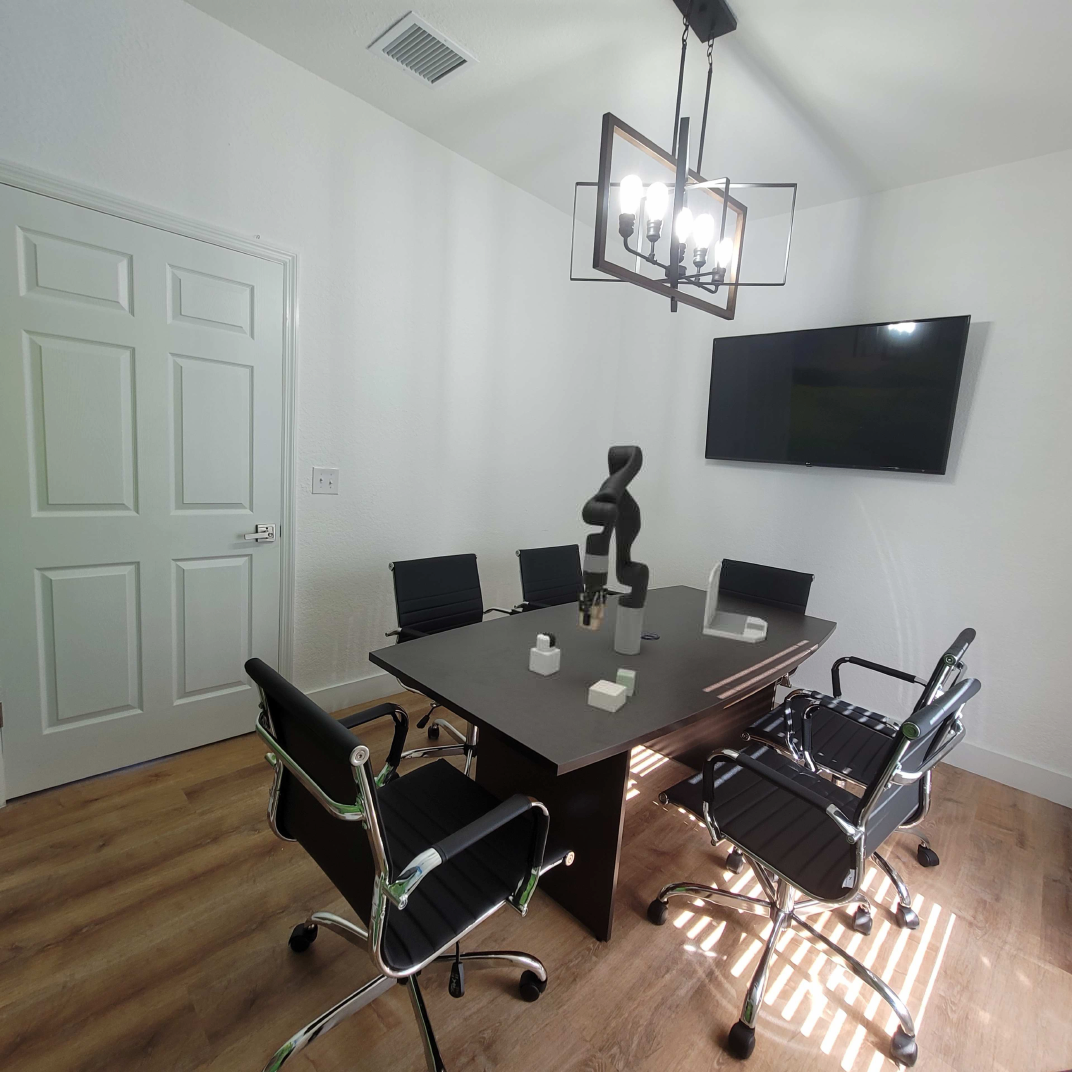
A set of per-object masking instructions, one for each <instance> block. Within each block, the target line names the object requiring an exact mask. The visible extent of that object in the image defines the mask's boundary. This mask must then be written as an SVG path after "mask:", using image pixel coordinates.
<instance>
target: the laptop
mask: <svg viewBox="0 0 1072 1072" xmlns="http://www.w3.org/2000/svg"><path fill="white" fill-rule="evenodd" d="M720 577H721V562H718V563H716V564H715V565H714V567H713V568H712V570H711V571H710V574H709V579H708V583H707V591H706V601H705V609H704V617H703V630H702V631H703V632H702V634H704V635H710V636H716V637H721V638H726V639H731V640H737V641H743V642H748V643H754V644H755V643H759V642H763V641H765V640H766V639H765V638H766V636H767V629H768V622H766V621H765V620H764V619H762V618H760V617H755V616H749V615H744V614H738V613H732V612H727V611H720V610H716V609H717V603H718V595H719V587H720V586H719V585H720Z"/></svg>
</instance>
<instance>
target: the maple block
mask: <svg viewBox="0 0 1072 1072" xmlns="http://www.w3.org/2000/svg"><path fill="white" fill-rule="evenodd" d="M588 603H591V602H588ZM582 608H583V606H582ZM604 608H605V607H604V604H598V603H595V605H594V606H593V607H592V611H591V619H590V626H585V625H583V612H579V613H580V614H579V627H582V628H585V629H588V630H592V631H594V630H597V629H599V628H601V627H603V618H604ZM588 609H589V606H588Z"/></svg>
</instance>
